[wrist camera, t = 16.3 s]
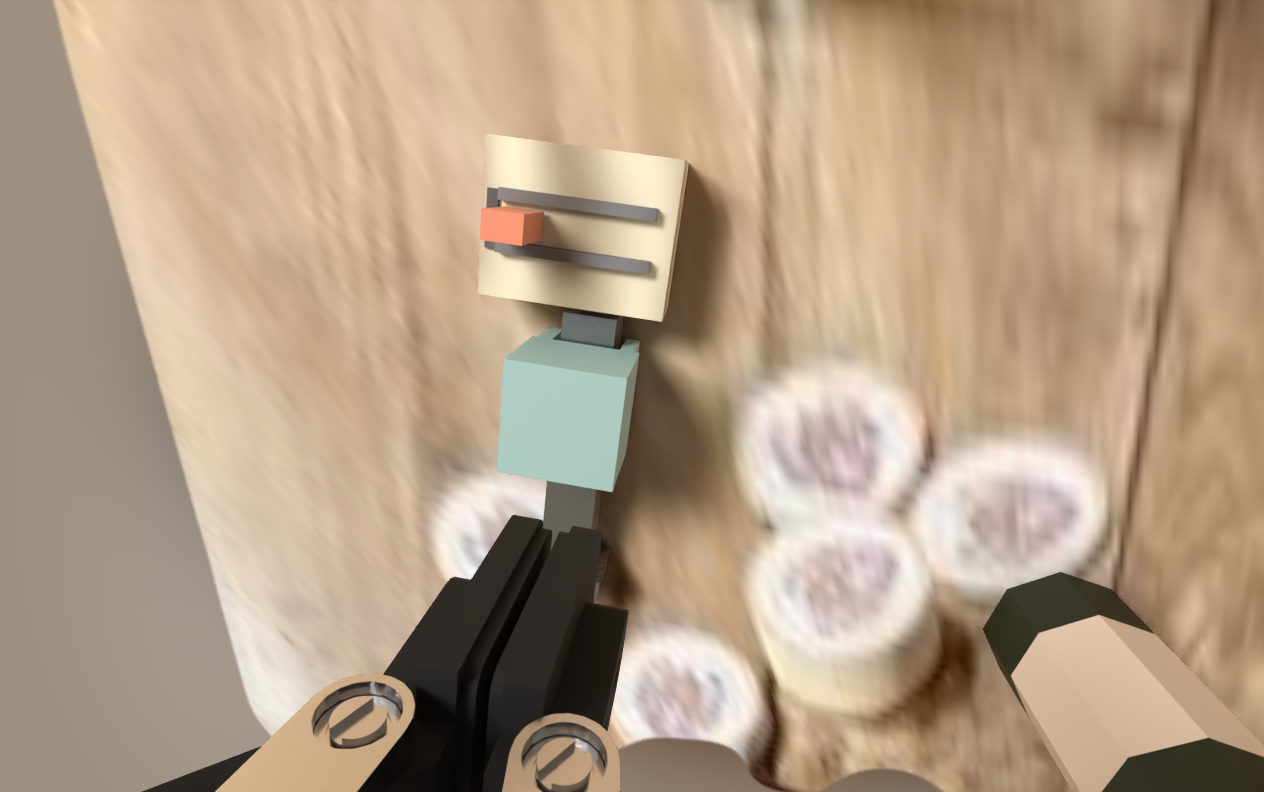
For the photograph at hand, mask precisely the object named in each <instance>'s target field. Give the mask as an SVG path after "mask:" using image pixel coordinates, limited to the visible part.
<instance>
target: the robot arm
mask: <svg viewBox="0 0 1264 792" xmlns="http://www.w3.org/2000/svg"><path fill="white" fill-rule="evenodd" d="M601 539H602V531H600V530H594V529H589V528H583V527H578V526H572V528H571V530H570V532H569V533H567V532H561V531H560V532H559V534H558V536H557V538H556V540H555V542H554V544H553V547H552V549H551V543H552V530H550V529H545V528H543V521H542V520H539V519H534V518H528V517H523V516H517V515H512V517H511V518H510V519H509V521H508V522H507V524H506V526H505V527H504V529H503V530H502V532H501V533H500V535H499V537H498V538H497V540H496V541H495V543H494V545H493V546H492V548H491V549H490V551H489V552H488V554H487V556H486V557H485V559H484V560H483V562H482V563H481V565H480V567H479V568H478V570H477V571H476V573H475V574H474V576H473V578H472V579H471V580H469V579H464V578H458V577H453V578H451V579H450V580H449V581H448V582H447V583H446V585H445V586H444V588H443V589H442V590H441V592H440V593H439V595H438V596H437V598H436V599H435V601H434V602H433V603H432V605H431V606H430V608H429V609H428V611H427V612H426V614H425V615H424V616H423V618H422V619H421V621H420V622H419V624H418V625H417V627H416V628H415V629H414V631H413V632H412V634H411V635H410V637H409V638H408V640H407V641H406V642H405V644H404V645H403V647H402V648H401V650H400V651H399V653H398V654H397V655H396V657H395V658H394V660H393V661H392V663H391V664H390V666H389V667H388V668H387V670H386V671H385V673H384V674H383V675H381V674H359V675H355V676H351V677H347V678H343V679H341V680H339V681H337V682H335V683H332V684H330V685H328V686H326V687H325V688H324V689H322V690H321V691H320V692H319V693H317V694H316V695H315V696H313V697H312V698H311V699H310V700H309V701H308V702H307V703H306V704H305V705H304V706H303V707H302V708H301V709H300V710H299V711H298V712H297V713H296V714H295V715H294V716H293V717H292V718H291V719H290V720H289V721H288V722H286V723H285V724H284V725H283V726H282V727H281V728H280V729H279V730H278V731H277V732H276V733H275V734H274V735H273V736H272V737H271V738H270V739H269V740H268V741H267V742H266V743H265V744H264V745H263V746H261V747H258V748H255V749H253V750H250V751H247V752H245V753H242V754H240V755H237V756H234V757H232V758H229V759H227V760H224V761H221V762H219V763H216V764H213V765H211V766H208V767H206V768H203V769H201V770H198V771H195V772H192V773H190V774H187V775H185V776H182V777H179V778H177V779H174V780H172V781H169V782H166V783H164V784H161V785H159V786H156V787H153V788H151V789H148V790H145V791H143V792H620V760H619V755H618V749H617V746H616V744H615V742H614V741H613V739H612V737H611V735H610V734H609V733H608V732H607V731H608V726H609V721H610V716H611V711H612V706H613V702H614V697H615V692H616V687H617V681H618V676H619V670H620V664H621V658H622V652H623V646H624V640H625V633H626V626H627V619H628V610H625V609H620V608H615V607H610V606H604V605H599V604H594V603H593V602H594V594H595V586H596V578H597V571H598V563H599V555H600V547H601Z"/></svg>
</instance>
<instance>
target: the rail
mask: <svg viewBox="0 0 1264 792" xmlns="http://www.w3.org/2000/svg"><path fill="white" fill-rule="evenodd" d="M623 319H624V316H621V315H614V314H608V313H601V312H595V311H588V310H582V309H575V308H567V309H566V310H565V311H564V312H563V317H562V328H561V338H560V341H566V342H573V343H579V344H585V345H592V346H598V347H604V348H611V349H617V350H620V343H621V335H622V327H623ZM601 495H602V490H597V489H591V488H586V487H580V486H574V485H569V484H563V483H557V482H552V481H547V488H546V499H545V510H544V520H543V528H545V529H550V530H552V543H551V549H552V547H553V544H554V542H555V540H556V538H557V536H558V534H559V532H560V531H561V532H567V533H569V532H570V530H571V528H572V526H578V527H583V528H589V529H594V530H597V527H598V519H599V511H600V503H601ZM609 551H610V548H606V547H600V555H599V563H598V571H597V578H596V586H595V594H594V599H597V598H598V595H599V591H600V588H601V585H602V581H603V578H604V575H605V571H606V568H607V565H608V558H609Z"/></svg>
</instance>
